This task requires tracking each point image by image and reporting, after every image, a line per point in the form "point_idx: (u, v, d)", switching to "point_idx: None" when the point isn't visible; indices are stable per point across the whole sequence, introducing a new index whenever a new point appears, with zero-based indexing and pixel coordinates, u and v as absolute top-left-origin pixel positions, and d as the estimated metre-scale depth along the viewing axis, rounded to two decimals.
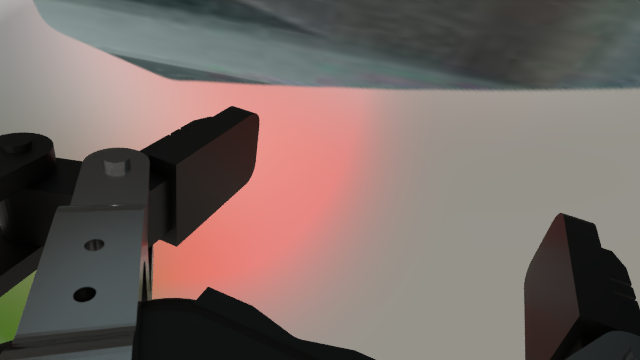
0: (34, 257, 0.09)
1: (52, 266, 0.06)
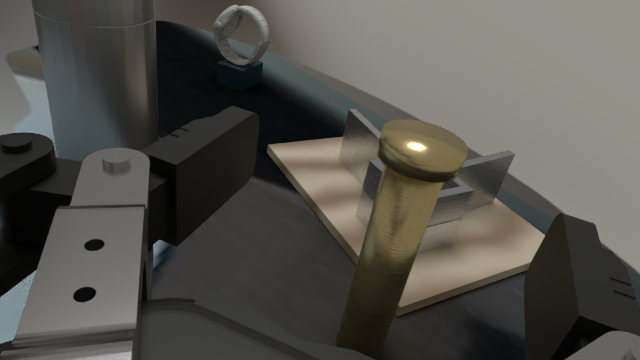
0: (34, 257, 0.09)
1: (52, 266, 0.06)
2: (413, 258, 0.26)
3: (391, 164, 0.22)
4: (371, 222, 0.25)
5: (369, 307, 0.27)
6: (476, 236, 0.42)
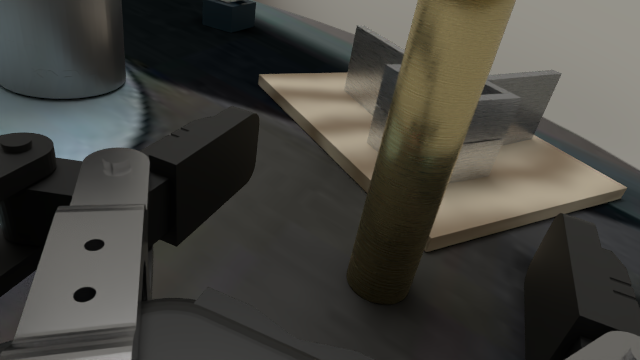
0: (34, 257, 0.09)
1: (52, 266, 0.06)
2: (464, 132, 0.17)
3: None
4: (402, 74, 0.17)
5: (396, 214, 0.19)
6: (518, 169, 0.34)
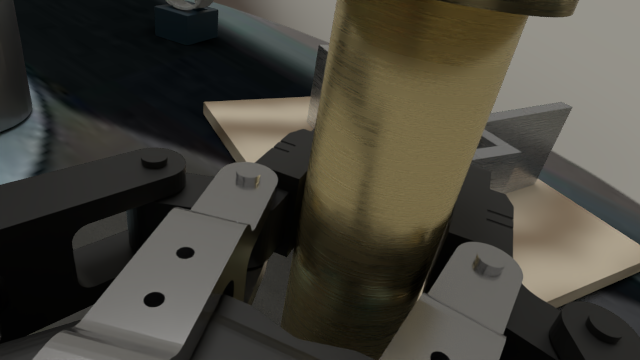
0: None
1: (142, 262, 0.06)
2: (420, 281, 0.10)
3: None
4: (307, 185, 0.09)
5: None
6: (517, 233, 0.27)
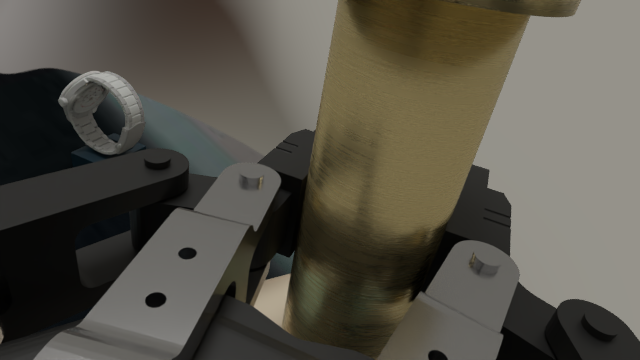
0: None
1: (144, 263, 0.06)
2: (421, 281, 0.10)
3: None
4: (309, 185, 0.09)
5: None
6: None
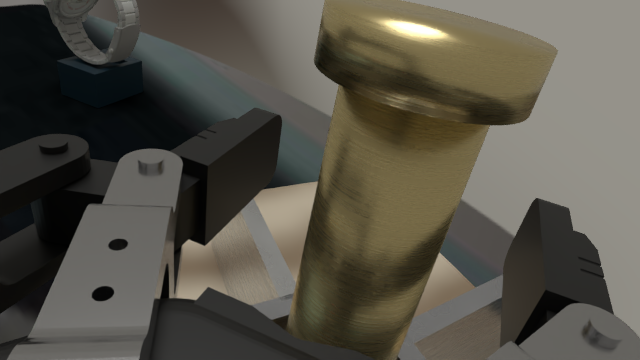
0: (64, 257, 0.09)
1: (76, 263, 0.06)
2: (405, 327, 0.11)
3: (345, 73, 0.08)
4: (308, 242, 0.11)
5: None
6: None
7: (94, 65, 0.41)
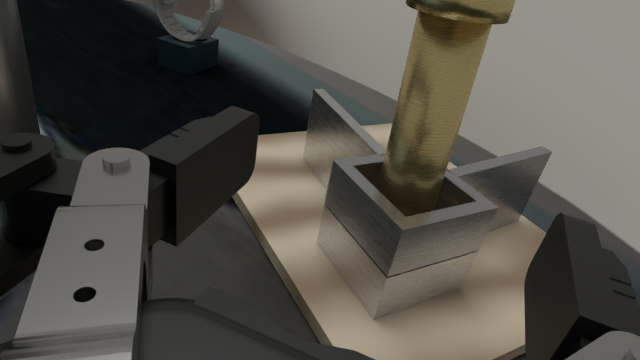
0: (34, 257, 0.09)
1: (52, 266, 0.06)
2: (451, 143, 0.22)
3: (426, 6, 0.18)
4: (401, 100, 0.21)
5: (400, 210, 0.23)
6: (498, 274, 0.28)
7: (183, 42, 0.52)
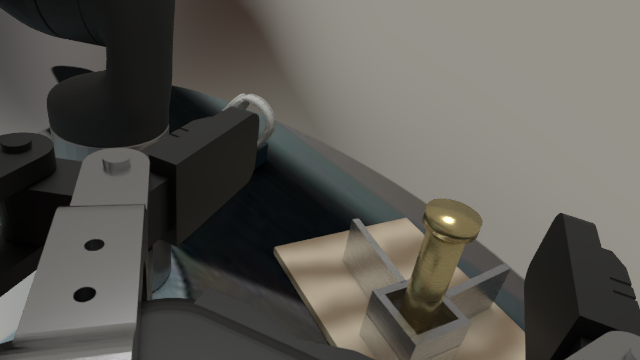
0: (34, 257, 0.09)
1: (52, 266, 0.06)
2: (446, 290, 0.38)
3: (434, 232, 0.35)
4: (418, 266, 0.38)
5: (415, 324, 0.40)
6: (474, 353, 0.45)
7: None
